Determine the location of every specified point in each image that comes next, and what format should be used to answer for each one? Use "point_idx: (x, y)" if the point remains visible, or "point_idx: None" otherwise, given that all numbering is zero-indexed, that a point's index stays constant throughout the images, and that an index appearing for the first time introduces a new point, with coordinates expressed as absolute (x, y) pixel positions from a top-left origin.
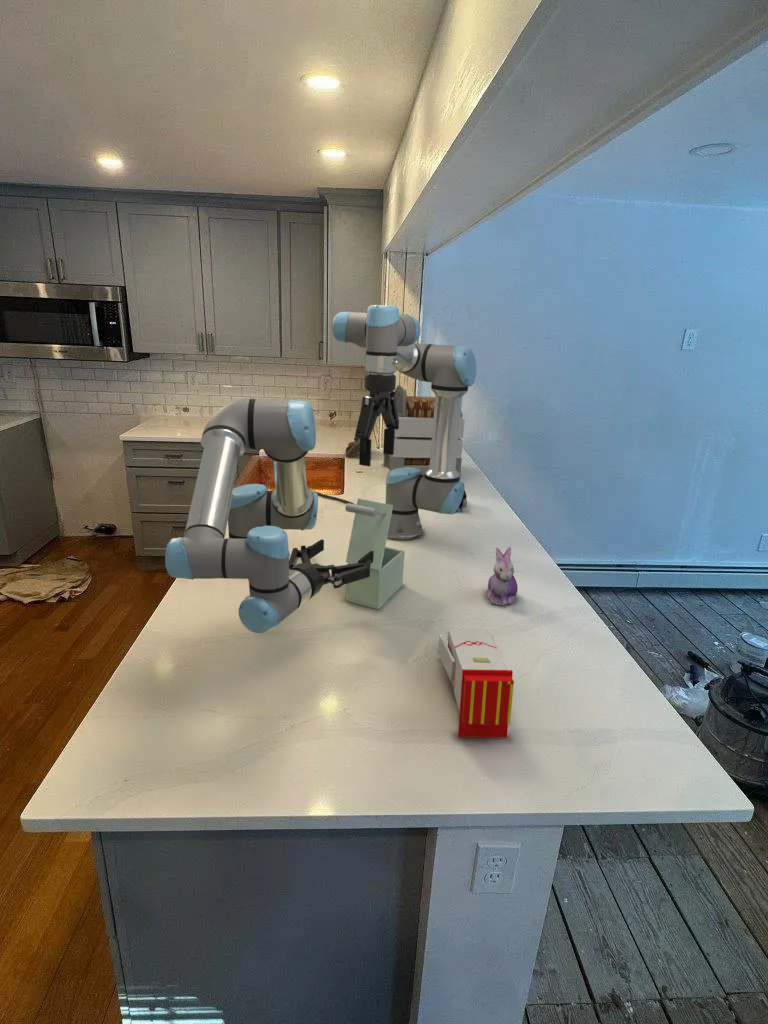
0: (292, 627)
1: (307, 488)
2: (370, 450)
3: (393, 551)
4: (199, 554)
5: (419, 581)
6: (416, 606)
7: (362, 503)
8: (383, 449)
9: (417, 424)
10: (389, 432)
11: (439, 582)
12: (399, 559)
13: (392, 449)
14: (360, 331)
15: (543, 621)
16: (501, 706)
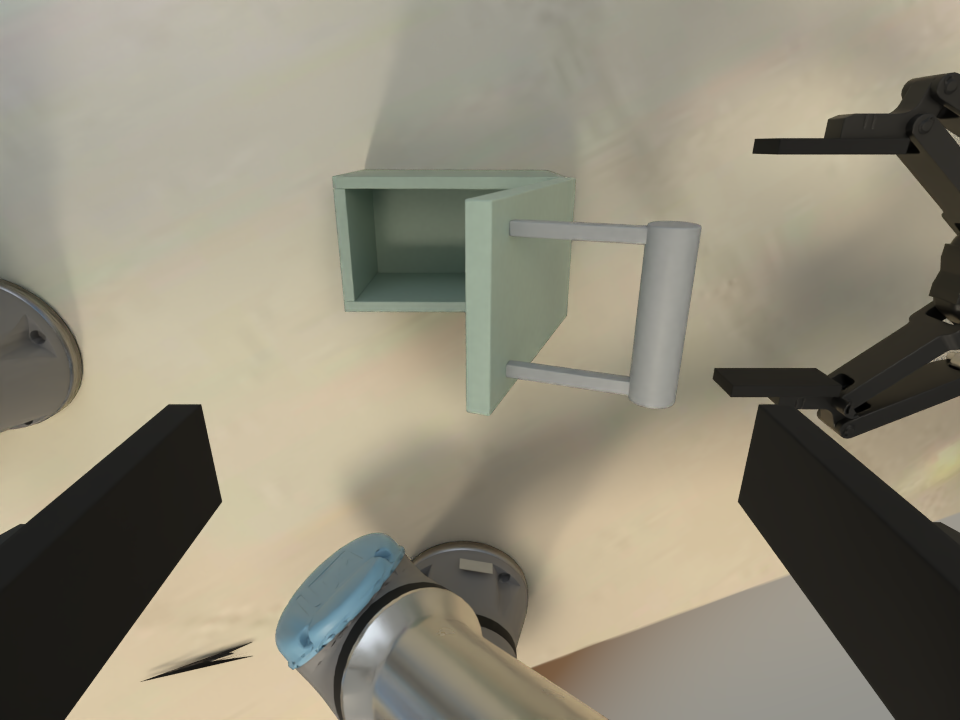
0: (727, 328)
1: (362, 673)
2: (888, 510)
3: (349, 220)
4: None
5: (305, 127)
6: (471, 63)
7: (497, 377)
8: (201, 529)
9: None
10: (17, 668)
11: (268, 56)
12: (385, 175)
13: (167, 439)
14: None
15: None
16: None
